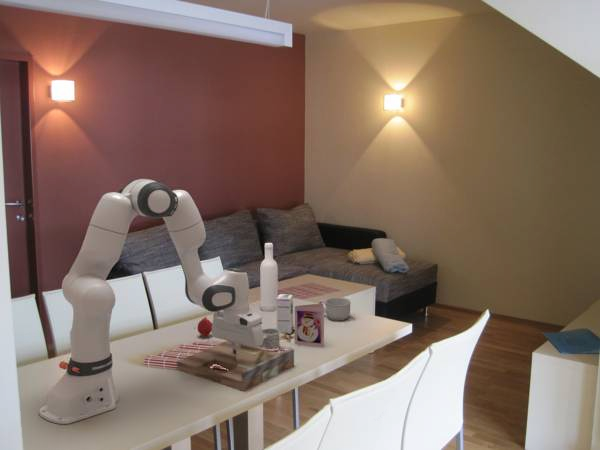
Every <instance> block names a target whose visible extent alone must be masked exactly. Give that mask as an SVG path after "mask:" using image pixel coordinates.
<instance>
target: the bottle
mask: <svg viewBox="0 0 600 450" xmlns="http://www.w3.org/2000/svg"><path fill="white" fill-rule="evenodd" d="M260 263H261V264H260V266H259V268H260V269H259V272H260V273H259V275H260V277H259V281H260V289H259V290H260V295H259V296H260V303H259V305H260V306H259V307H260V310H261V311H264V312H275V311H277V300H276V298H277V297H278V296H279V284H278V283H279V280H278V279H279V275H278V274H279V273H278V271H279V269H278V267H279V266H278V263H277V261H276V259H274V244H273V243H272V242H265V243H264V259H263V260H262V261H261V262H260Z"/></svg>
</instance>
